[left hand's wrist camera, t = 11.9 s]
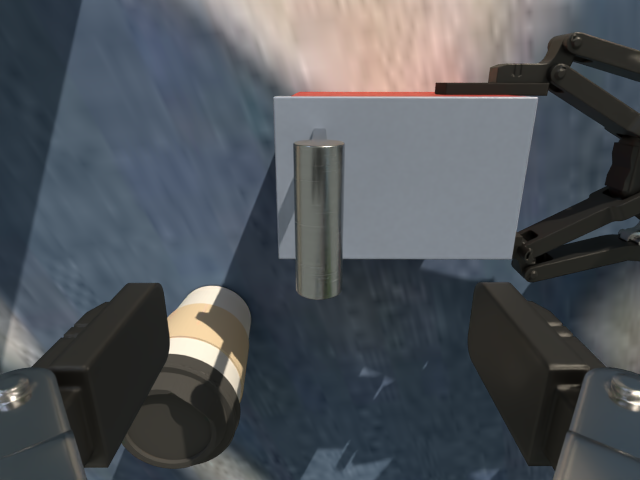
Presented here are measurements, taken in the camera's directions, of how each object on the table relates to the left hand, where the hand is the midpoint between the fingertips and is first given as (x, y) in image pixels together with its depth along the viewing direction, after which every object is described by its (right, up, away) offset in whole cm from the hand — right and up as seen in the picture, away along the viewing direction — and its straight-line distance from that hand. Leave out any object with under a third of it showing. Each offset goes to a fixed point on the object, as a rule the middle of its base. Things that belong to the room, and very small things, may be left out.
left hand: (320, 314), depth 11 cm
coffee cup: (-10, -6, +31) cm, 33 cm away
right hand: (+8, +7, +19) cm, 22 cm away
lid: (+5, +6, +15) cm, 17 cm away
